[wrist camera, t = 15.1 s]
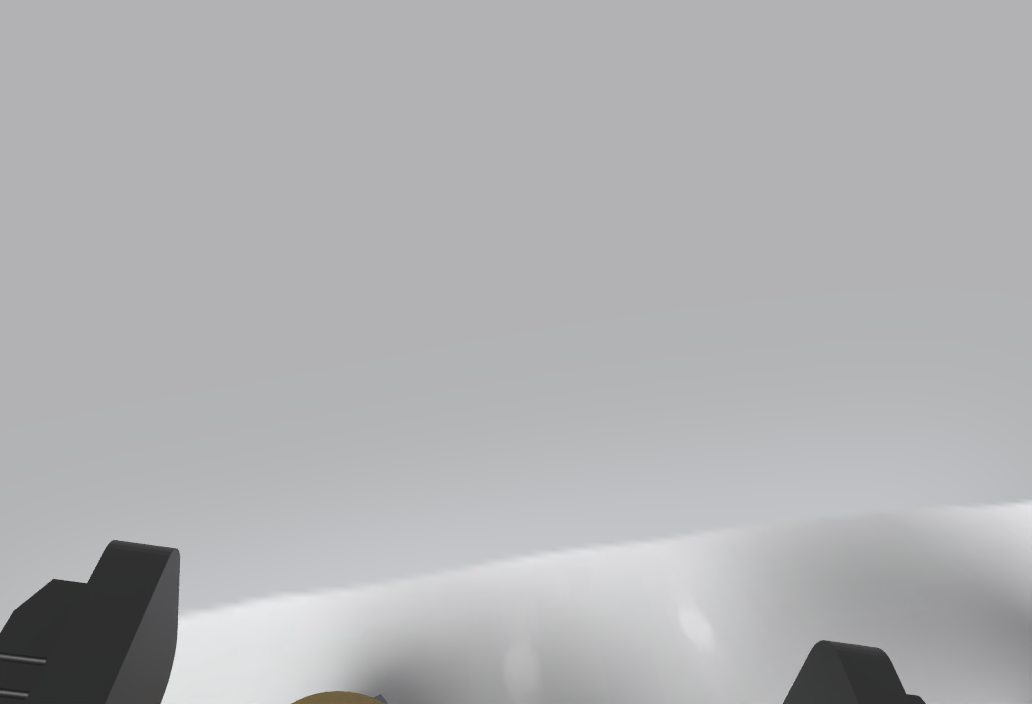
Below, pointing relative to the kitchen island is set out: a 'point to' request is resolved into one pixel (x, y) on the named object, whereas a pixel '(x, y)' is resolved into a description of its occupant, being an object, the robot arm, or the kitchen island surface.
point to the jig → (381, 699)
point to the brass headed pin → (338, 698)
